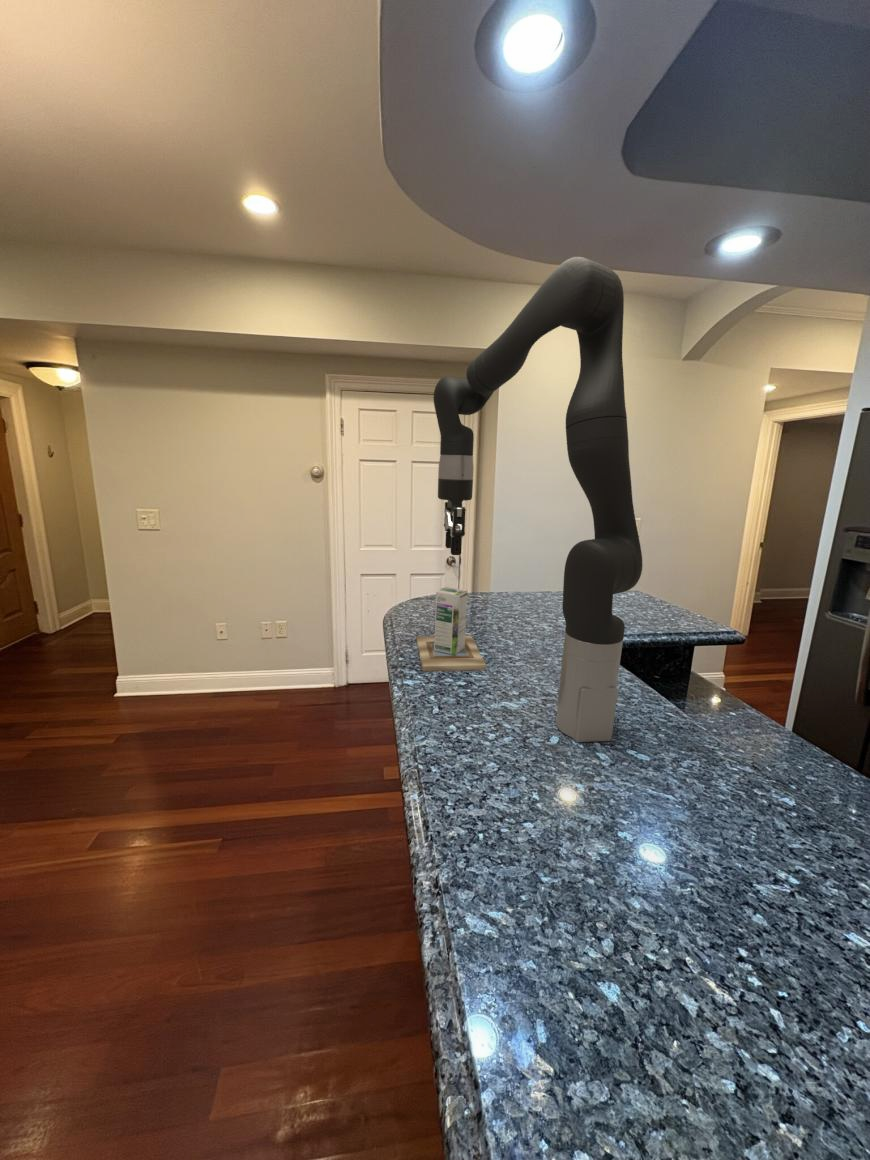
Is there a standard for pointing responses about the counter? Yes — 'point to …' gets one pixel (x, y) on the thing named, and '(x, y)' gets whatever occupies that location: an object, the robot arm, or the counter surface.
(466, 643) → the wooden picture frame
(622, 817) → the counter surface
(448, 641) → the syrup box
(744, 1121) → the counter surface
